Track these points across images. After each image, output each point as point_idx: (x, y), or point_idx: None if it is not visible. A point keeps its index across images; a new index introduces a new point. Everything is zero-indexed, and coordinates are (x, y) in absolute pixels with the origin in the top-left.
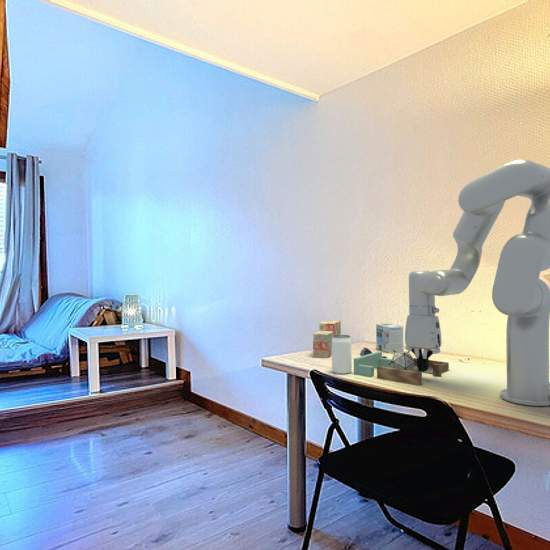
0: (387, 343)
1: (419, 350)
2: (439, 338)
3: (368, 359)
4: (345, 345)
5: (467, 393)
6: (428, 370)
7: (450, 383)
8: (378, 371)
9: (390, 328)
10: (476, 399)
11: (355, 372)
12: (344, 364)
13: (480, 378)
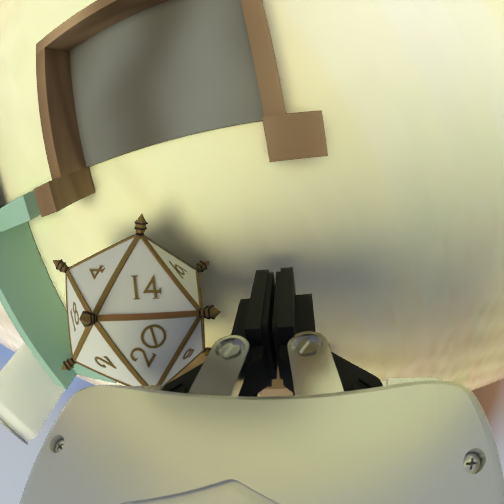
0: None
1: (217, 392)
2: (471, 498)
3: (32, 322)
4: (39, 426)
5: (480, 322)
6: (180, 74)
7: (422, 249)
8: None
9: None
10: (493, 346)
11: None
12: None
13: (474, 57)
